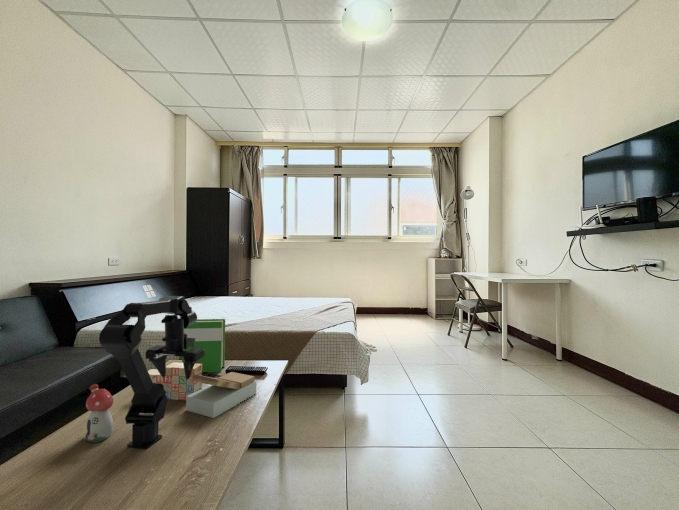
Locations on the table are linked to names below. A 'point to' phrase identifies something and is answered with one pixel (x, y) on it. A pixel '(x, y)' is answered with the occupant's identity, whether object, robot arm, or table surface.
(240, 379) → the white box
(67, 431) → the table surface
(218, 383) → the board
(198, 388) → the stack of blocks
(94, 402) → the decorative ornament
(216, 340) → the hardback book
